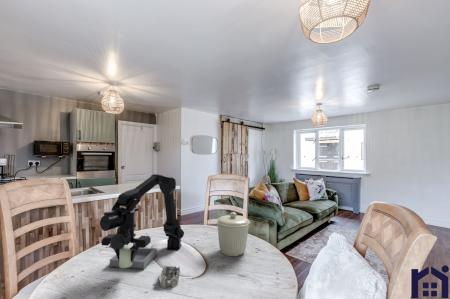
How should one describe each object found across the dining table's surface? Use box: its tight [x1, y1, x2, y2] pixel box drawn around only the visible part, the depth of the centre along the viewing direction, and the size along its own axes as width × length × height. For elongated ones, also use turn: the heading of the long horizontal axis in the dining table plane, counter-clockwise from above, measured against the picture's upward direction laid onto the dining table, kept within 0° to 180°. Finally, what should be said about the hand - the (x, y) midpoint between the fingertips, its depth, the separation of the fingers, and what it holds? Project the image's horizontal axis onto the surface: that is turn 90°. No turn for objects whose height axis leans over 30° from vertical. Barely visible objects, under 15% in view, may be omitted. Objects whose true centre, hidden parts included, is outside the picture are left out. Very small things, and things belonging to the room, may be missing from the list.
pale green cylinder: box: [119, 245, 133, 269], centre depth 91 cm, size 5×5×7 cm
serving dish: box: [109, 247, 158, 271], centre depth 104 cm, size 16×14×4 cm
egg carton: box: [158, 265, 181, 289], centre depth 89 cm, size 11×8×4 cm
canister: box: [215, 211, 251, 257], centre depth 116 cm, size 18×18×21 cm
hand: (125, 261), depth 91 cm, fingers closed on pale green cylinder, 5 cm apart
